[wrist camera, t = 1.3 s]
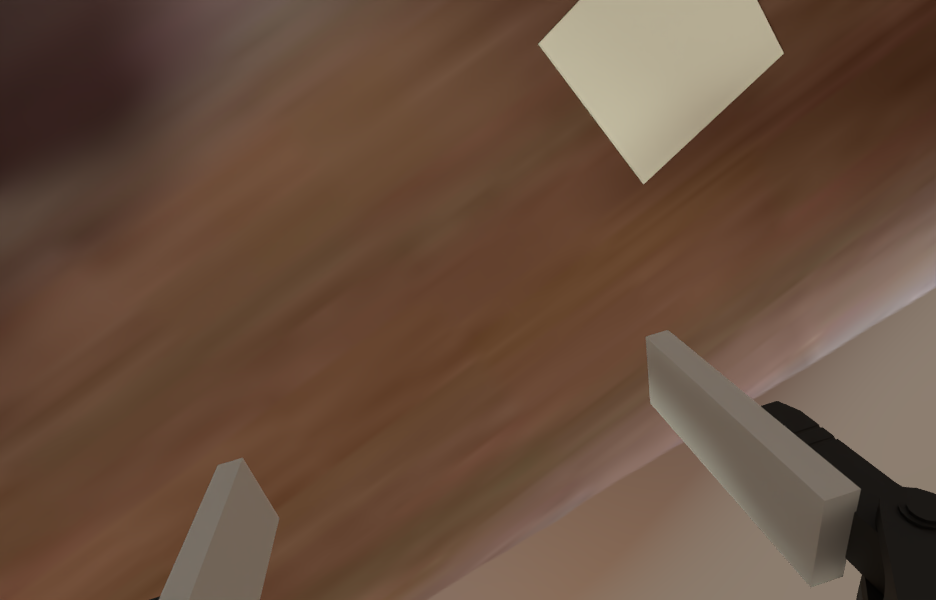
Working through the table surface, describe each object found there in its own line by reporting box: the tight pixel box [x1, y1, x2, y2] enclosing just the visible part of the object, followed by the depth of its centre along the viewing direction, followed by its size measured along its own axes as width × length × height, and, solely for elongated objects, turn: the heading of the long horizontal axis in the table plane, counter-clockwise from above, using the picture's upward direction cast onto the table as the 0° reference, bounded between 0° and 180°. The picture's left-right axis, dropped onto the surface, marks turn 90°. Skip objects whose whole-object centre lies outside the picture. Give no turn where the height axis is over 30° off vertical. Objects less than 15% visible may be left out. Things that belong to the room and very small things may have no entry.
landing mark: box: [538, 0, 784, 184], centre depth 34 cm, size 14×14×1 cm
